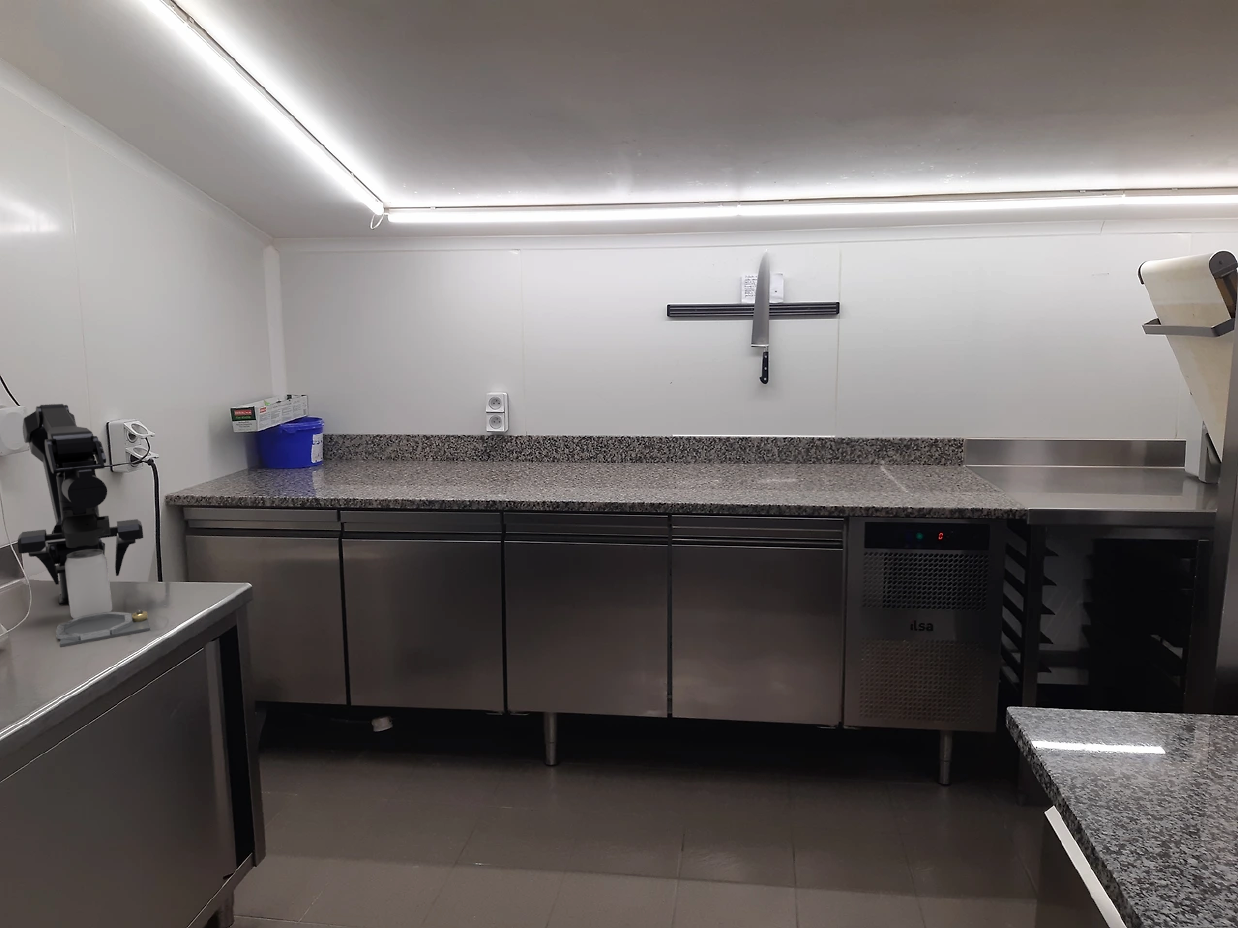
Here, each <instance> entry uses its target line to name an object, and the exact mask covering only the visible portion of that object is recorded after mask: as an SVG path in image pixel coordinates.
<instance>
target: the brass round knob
mask: <svg viewBox="0 0 1238 928" xmlns="http://www.w3.org/2000/svg"><path fill="white" fill-rule="evenodd" d="M147 619H148V620H149V615H148V611H147V610H143V609H142V608H141V609H136V610H135V612H133V614H132V621H133V622H142V621H145V620H147Z"/></svg>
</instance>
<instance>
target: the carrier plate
mask: <svg viewBox="0 0 1238 928" xmlns="http://www.w3.org/2000/svg"><path fill="white" fill-rule="evenodd" d="M133 613H134V612H133ZM133 613H131V612H130V614H131V617H132V614H133ZM123 622H125V619H118V618H102V619H96V620H91V621H85V622H81V623H79V624H77V625H74V626H72V627H70V628H67V629H65V631H64V632H66V633H77V634H84V633H90V632H95V631H101V630H106V629H110V628H112V627H114V626H116V625H118V624H121V623H123ZM148 630H150V631H151V627H150V622H149V618H148V619H147V620H145V621H142V622H133V621H132V626H129V627H127V628H125V629H123V630H121V631H119V632H117V633H114V634H110V635H108V636H103V637H97V638H92V639H86V640H79V641H77V640H66V639H59V640H60V641H59V647H60V648H62V647H68V646H74V645H79V644H85V643H90V642H91V643H92V642H95V641H100V640H105V639H112V638H118V637H123V636H127V635H133V634H139V633H143V632H149V631H148Z"/></svg>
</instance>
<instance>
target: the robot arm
mask: <svg viewBox="0 0 1238 928" xmlns="http://www.w3.org/2000/svg"><path fill="white" fill-rule="evenodd" d="M22 422H23V423H22V435H23V440H24V443H25V444H28V445H29V450H30V454H32V455H33V456H34V457H35V458H36V459H38V460H39V461H41V463H42V464H43V469H44V472H45V473H44V474H45V479H46V482H47V487H48V492H49V496H50V501H51V505H52V509H53V515H54V521H55V525H54V527H53V529H52V531H51V533H47V530H46V529H38V530H29V531H22V532H21V533H19V535H18V538H17V552H18V554H22V555H23V554H28V557H31V558H32V557H36V558H37V559H38V560H39V561H40V562H41V564H42V565H44V567H45V569H46V571H47V572H48V573H49V575H50V577H51V579H52V580H53V582H54V584H55V585H56V586H57V585H59V586H60V593H59V598H58V605H59V606H60V605H61V606H62V605H67V604H68V605H69V597H68V589H67V580H66V572H65V562H66V560H67V555H68V554H70V553H72V552H76V551H81V550H88V549H100V550H103V554H104V556H105V557H106V555H105V552H106V543H105V542H103V541H102V539H104V538H105V539H106V538H112V537H116V540H115V562H114V568H115V576H116V577H118V576H120V572H121V568H122V565H123V564H122V563H123V561H124V557H125V554H126V552H127V550H128V548H129V547H130V545H133V544H136V540H141V539H144V530H143V525H142V522H141V521H140V520H139V519H138V518H137V519H136V518H135V519H127V520H119V521H116V526H111V525H110V516H109V515H103V516H101V515H100V509H99V505H101V504H102V503H104V501H105V500H106V498H107V495H108V487H107V485H106V483H105V482H104V481H103V480H102V479H100V478H99V477H97V474H96V470H102V469H105V467H106V466H105V464H106V463H107V457H106V453H105V450H104V447H103V444H102V441H101V440H100V439H99V437H98V436H97V435H94V434H93V432H92V431H91V430H90V429H89V428H87V427H82V426H77V422H76V418H75V415H74V414H72V413H71V412H70V408H69V406H68V405H67V404H63V403H56V404H55V403H52V404H40V405H37V406H36V407H35V410H34V412H32V413H30V414H28V415H26V416H25V417H23V421H22Z"/></svg>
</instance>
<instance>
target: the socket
mask: <svg viewBox="0 0 1238 928" xmlns="http://www.w3.org/2000/svg"><path fill="white" fill-rule="evenodd" d="M102 618H118V619H125V622H123V623H121V624H118V625H116V626H114V627H112V628H110V629H106V630H101V631H95V632H90V633H84V634H77V633H66V632H64V631H65V629H67V628H70V627H72V626H74V625H77V624H79V623H81V622H85V621H91V620H96V619H102ZM129 626H132V617H131V612H123V611H122V612H119V611H112V610H111V611H110V612H103V613H97V614H91V615H85V616H81V617H77V618H75V619H74V618H72V619H70V620H68V621H65V622H63V623H60V624H59V625H57V626H56V631H55V633H56V634H55V635H56V639H58V640H60V639H66V640H77V641H79V640H86V639H92V638H97V637H103V636H108V635H110V634H114V633H117V632H119V631H121V630H123V629H125V628H127V627H129Z"/></svg>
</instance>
